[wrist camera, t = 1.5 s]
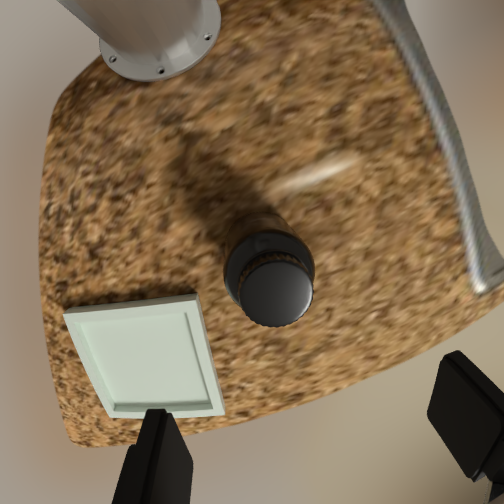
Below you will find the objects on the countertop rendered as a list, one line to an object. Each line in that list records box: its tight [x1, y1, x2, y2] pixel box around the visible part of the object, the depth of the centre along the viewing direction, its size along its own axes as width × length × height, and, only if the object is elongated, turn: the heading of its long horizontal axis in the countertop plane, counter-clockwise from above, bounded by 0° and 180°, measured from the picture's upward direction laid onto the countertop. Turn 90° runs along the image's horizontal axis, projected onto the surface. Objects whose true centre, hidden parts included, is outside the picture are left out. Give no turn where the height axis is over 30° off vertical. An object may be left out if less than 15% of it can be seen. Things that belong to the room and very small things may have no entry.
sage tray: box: [63, 293, 225, 418], centre depth 33 cm, size 16×16×2 cm
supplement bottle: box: [223, 212, 315, 327], centre depth 25 cm, size 7×7×12 cm
